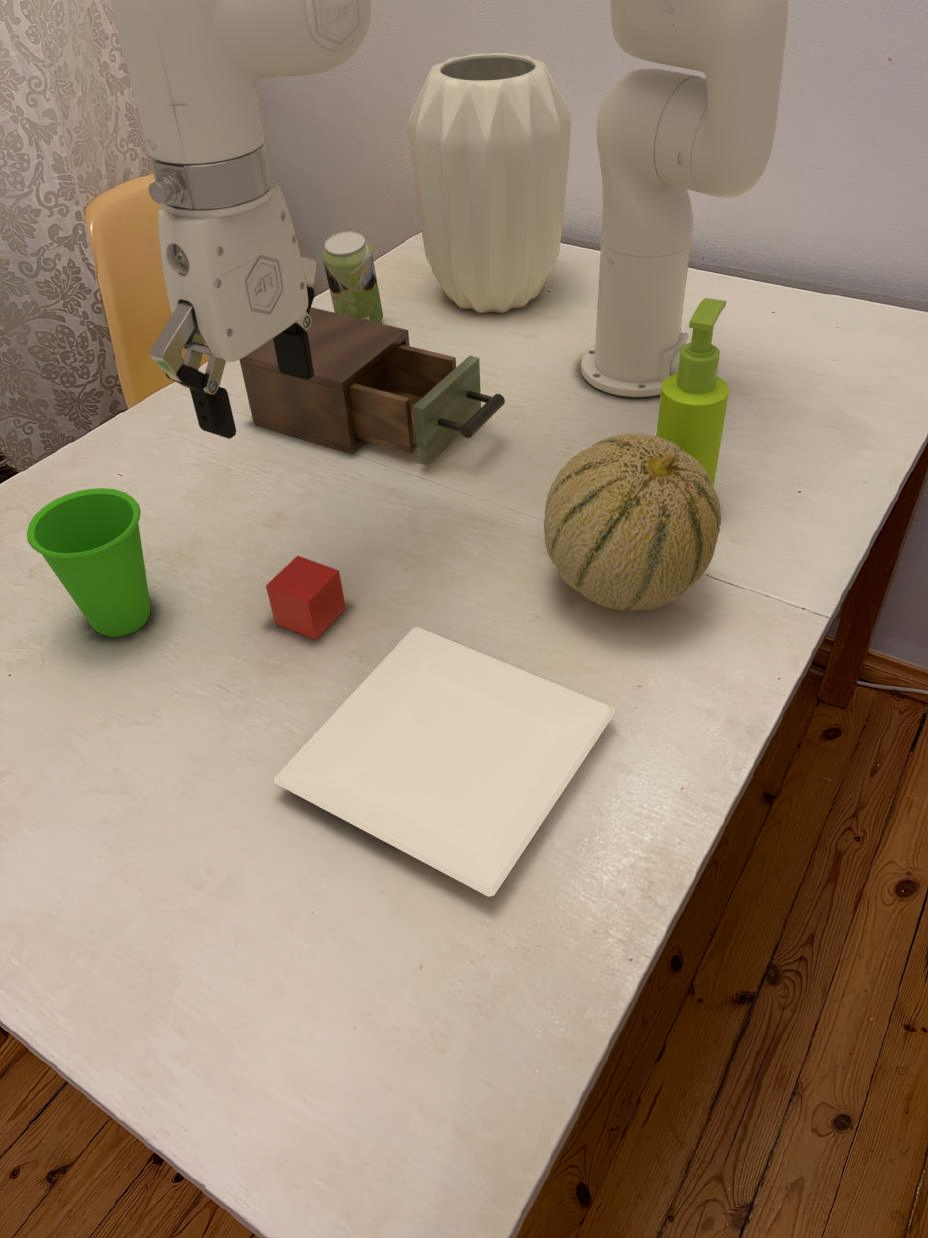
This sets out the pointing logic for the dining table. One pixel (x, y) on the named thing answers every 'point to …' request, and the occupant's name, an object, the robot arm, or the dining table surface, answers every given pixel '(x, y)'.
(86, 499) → the cup
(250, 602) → the dining table surface
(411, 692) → the plate
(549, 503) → the cantaloupe
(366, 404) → the drawer
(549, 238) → the vase
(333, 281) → the beverage can
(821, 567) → the dining table surface
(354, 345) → the cabinet
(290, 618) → the block
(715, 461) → the soap dispenser
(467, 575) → the dining table surface
